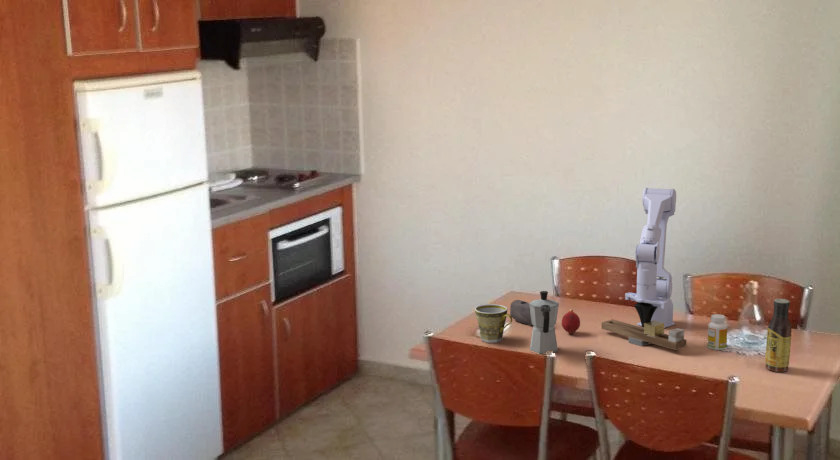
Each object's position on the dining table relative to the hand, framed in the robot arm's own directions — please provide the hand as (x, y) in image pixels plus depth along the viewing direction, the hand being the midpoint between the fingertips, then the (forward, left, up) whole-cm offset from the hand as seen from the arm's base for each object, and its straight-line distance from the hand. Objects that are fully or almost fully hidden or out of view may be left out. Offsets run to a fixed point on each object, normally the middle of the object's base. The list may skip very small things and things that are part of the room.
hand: (645, 326), depth 286 cm
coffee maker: (+28, -15, -5) cm, 32 cm away
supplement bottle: (-12, +17, -5) cm, 21 cm away
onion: (+10, -21, -5) cm, 24 cm away
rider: (0, +3, -3) cm, 4 cm away
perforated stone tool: (+12, -37, -5) cm, 39 cm away
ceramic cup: (+32, -32, -5) cm, 46 cm away
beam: (0, -1, -5) cm, 5 cm away
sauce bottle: (-8, +39, -5) cm, 40 cm away
